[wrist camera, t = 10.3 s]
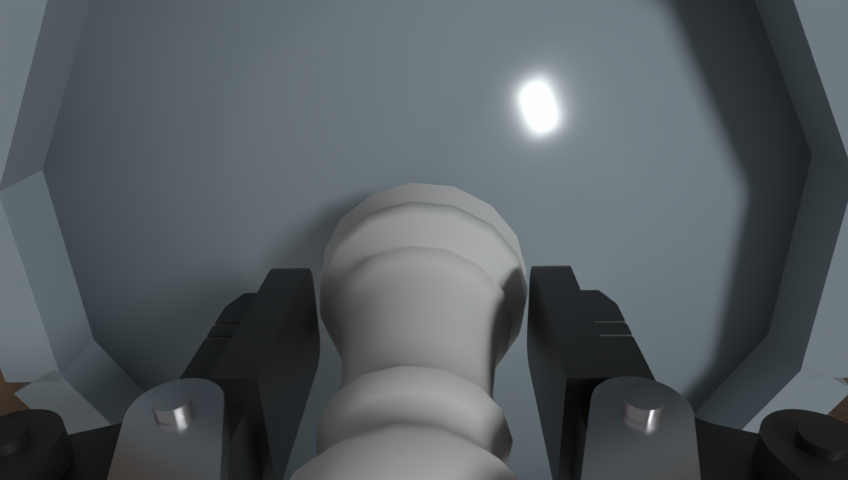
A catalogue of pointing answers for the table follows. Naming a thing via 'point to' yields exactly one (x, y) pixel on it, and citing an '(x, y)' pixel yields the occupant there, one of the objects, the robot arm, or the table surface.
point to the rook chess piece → (418, 338)
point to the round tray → (426, 180)
